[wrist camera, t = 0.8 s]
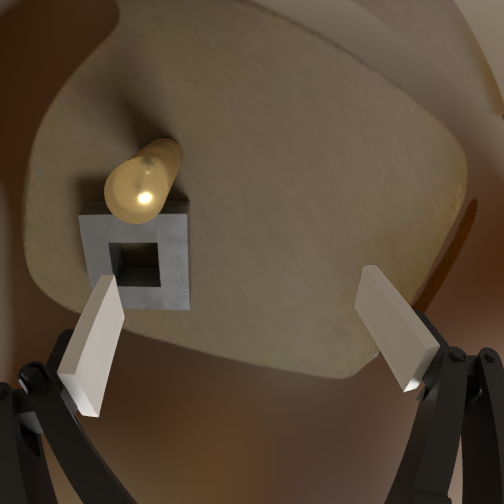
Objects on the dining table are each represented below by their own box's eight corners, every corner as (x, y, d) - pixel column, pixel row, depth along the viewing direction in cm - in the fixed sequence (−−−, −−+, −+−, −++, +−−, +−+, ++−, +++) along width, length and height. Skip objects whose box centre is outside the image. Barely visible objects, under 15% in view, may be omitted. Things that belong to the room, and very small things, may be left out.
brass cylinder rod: (143, 138, 31) (102, 163, 18) (183, 137, 31) (165, 161, 19) (144, 176, 33) (107, 224, 20) (182, 176, 33) (166, 223, 21)
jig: (91, 201, 33) (78, 215, 29) (189, 200, 35) (187, 213, 31) (104, 287, 38) (95, 307, 34) (191, 288, 40) (189, 309, 36)
